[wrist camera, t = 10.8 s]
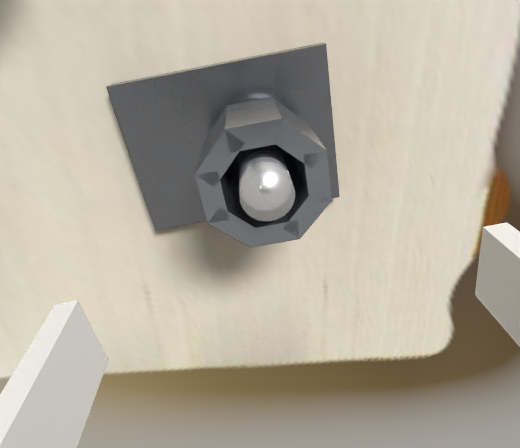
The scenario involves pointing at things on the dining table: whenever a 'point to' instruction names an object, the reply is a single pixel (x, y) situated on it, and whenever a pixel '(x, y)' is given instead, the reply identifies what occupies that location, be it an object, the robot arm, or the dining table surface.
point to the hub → (254, 136)
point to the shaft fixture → (203, 120)
